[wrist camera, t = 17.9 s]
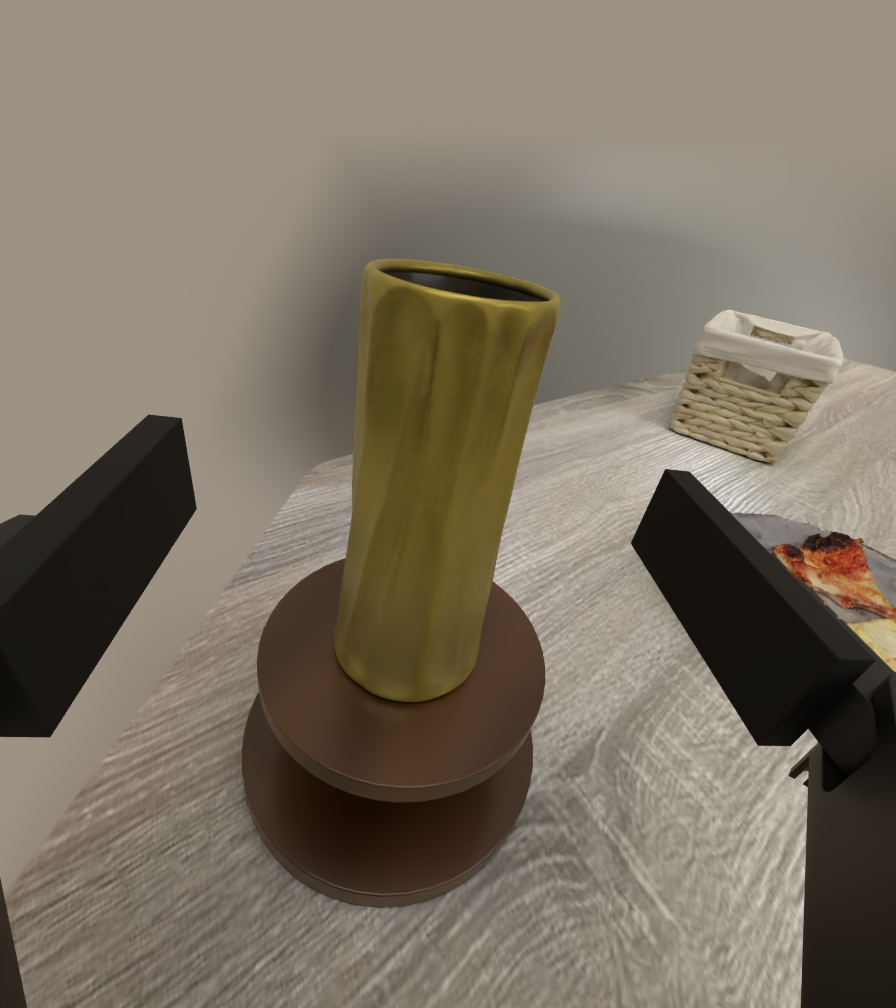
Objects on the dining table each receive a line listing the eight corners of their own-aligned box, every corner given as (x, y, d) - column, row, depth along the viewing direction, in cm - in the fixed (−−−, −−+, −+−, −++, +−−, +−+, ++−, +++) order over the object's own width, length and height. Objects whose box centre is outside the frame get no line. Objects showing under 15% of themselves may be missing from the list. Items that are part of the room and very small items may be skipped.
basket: (780, 474, 61) (851, 359, 53) (654, 429, 67) (700, 322, 59) (785, 425, 78) (838, 334, 70) (685, 393, 85) (723, 307, 77)
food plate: (830, 531, 50) (851, 503, 48) (1126, 747, 31) (1179, 716, 29) (620, 528, 44) (634, 497, 42) (831, 795, 25) (874, 760, 23)
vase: (363, 576, 23) (388, 249, 15) (486, 608, 23) (576, 286, 15) (308, 680, 18) (303, 267, 10) (465, 724, 17) (586, 325, 10)
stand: (178, 871, 18) (141, 776, 14) (306, 610, 30) (305, 518, 26) (534, 940, 18) (593, 863, 14) (523, 651, 30) (554, 565, 26)
